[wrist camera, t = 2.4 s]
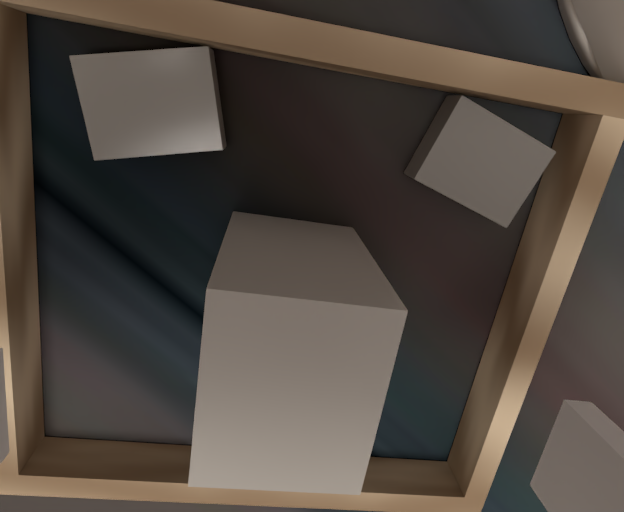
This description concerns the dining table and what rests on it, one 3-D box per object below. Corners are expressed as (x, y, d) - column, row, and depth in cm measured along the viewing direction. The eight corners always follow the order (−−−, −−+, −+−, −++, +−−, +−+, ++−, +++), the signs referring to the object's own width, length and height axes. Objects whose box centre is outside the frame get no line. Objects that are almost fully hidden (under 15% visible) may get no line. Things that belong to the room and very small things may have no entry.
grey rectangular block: (443, 95, 15) (462, 95, 14) (529, 147, 16) (556, 151, 15) (400, 172, 16) (414, 179, 15) (485, 217, 17) (506, 228, 16)
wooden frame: (-12, -32, 13) (-62, -56, 11) (598, 89, 15) (643, 87, 14) (20, 453, 18) (-9, 494, 16) (460, 478, 21) (479, 515, 19)
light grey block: (90, 60, 14) (69, 55, 12) (214, 52, 14) (208, 46, 13) (111, 155, 15) (94, 160, 14) (227, 145, 15) (222, 149, 14)
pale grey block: (233, 211, 16) (206, 288, 9) (352, 227, 16) (408, 310, 10) (218, 342, 17) (187, 486, 11) (327, 352, 18) (359, 495, 12)
